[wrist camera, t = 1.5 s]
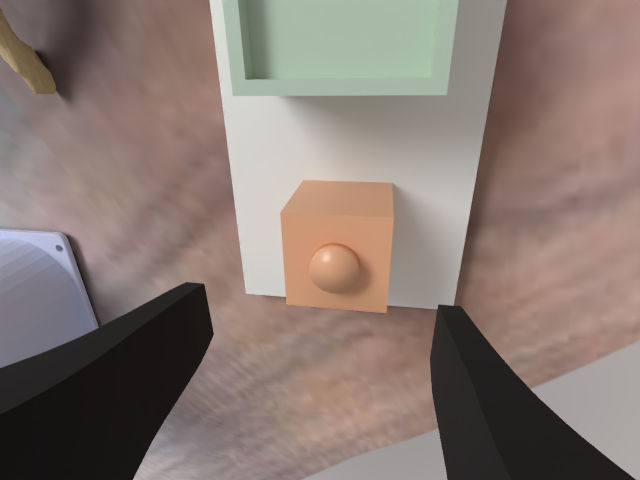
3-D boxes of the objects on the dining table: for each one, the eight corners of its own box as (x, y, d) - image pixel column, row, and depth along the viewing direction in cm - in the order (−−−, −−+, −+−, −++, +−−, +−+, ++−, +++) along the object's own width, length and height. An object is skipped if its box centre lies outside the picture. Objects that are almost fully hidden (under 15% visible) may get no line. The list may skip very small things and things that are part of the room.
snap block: (386, 262, 20) (386, 322, 15) (306, 256, 20) (282, 312, 16) (392, 182, 18) (394, 223, 13) (303, 179, 18) (276, 218, 14)
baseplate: (449, 300, 21) (470, 377, 16) (251, 284, 23) (212, 348, 18) (532, -187, 12) (635, -365, 7) (201, -149, 14) (96, -270, 9)
